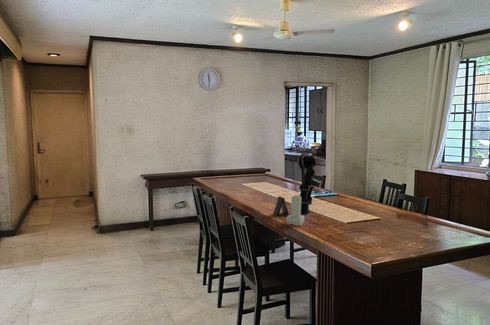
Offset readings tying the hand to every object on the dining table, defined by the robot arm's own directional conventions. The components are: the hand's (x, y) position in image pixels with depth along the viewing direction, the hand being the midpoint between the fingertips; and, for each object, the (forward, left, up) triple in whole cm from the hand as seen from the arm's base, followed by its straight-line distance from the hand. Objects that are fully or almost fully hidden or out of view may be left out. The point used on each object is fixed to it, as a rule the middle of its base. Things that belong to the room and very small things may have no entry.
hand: (307, 198), depth 256 cm
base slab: (+16, -3, -14) cm, 21 cm away
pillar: (+16, -3, -9) cm, 18 cm away
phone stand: (-2, -19, -13) cm, 23 cm away
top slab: (+16, -3, -11) cm, 20 cm away
